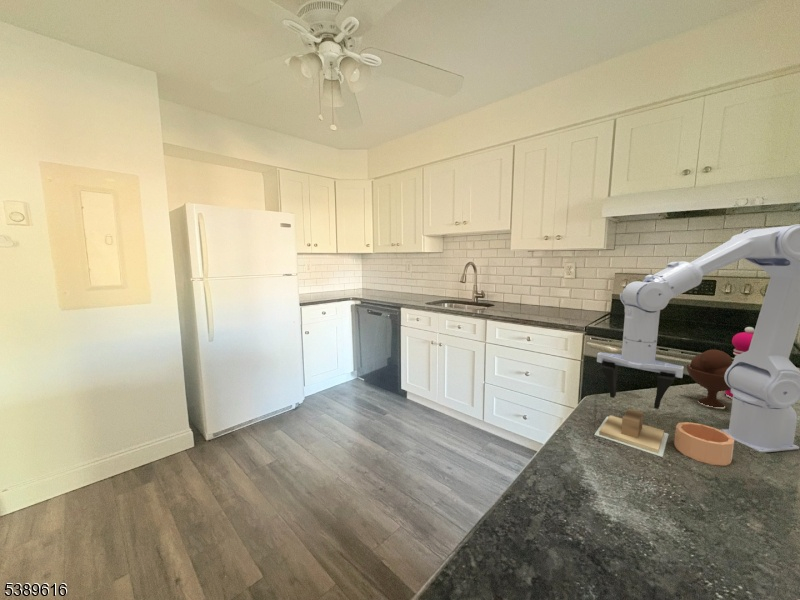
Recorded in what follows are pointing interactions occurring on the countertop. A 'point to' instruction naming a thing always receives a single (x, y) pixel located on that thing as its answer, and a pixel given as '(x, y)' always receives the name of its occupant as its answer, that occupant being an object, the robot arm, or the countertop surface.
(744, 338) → the pepper mill
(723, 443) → the bowl
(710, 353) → the ice cream bowl
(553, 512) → the countertop surface
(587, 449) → the countertop surface
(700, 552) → the countertop surface
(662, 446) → the mat
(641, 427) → the lid
